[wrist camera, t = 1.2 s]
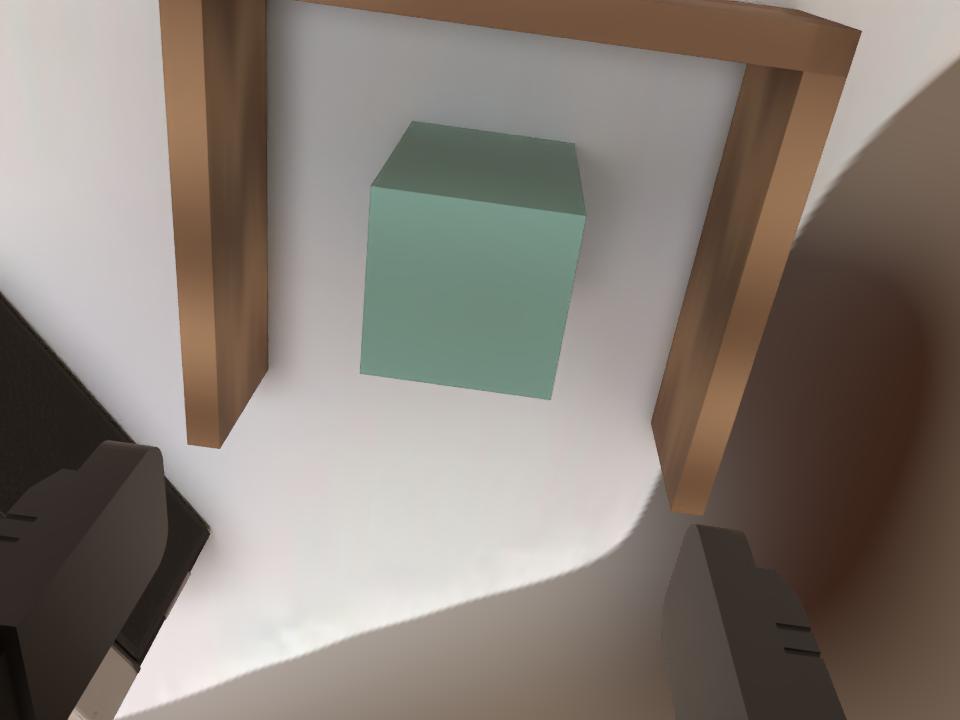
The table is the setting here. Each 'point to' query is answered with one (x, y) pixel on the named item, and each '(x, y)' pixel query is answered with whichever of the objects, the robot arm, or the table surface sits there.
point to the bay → (539, 10)
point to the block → (471, 260)
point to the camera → (67, 445)
